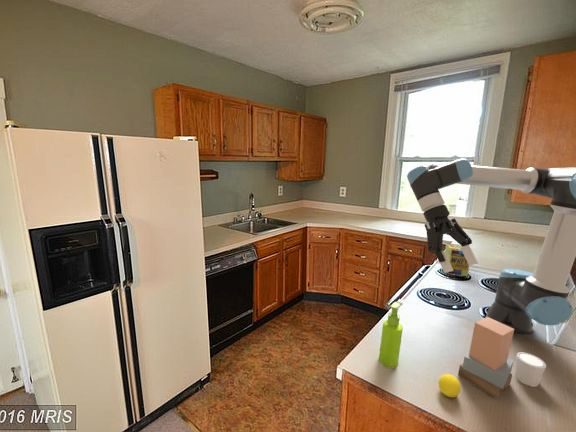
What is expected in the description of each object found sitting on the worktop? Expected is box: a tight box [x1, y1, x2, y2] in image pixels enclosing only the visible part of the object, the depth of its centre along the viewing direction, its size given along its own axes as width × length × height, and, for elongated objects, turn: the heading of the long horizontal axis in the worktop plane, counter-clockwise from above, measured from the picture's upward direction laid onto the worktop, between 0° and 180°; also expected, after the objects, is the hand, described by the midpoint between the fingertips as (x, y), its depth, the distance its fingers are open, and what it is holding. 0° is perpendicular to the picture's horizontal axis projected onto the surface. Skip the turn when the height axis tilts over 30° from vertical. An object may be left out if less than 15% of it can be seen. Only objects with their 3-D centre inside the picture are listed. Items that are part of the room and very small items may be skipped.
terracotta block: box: [469, 316, 514, 370], centre depth 81 cm, size 7×7×11 cm
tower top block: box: [462, 349, 514, 389], centre depth 83 cm, size 10×10×4 cm
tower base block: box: [457, 362, 513, 399], centre depth 84 cm, size 10×10×4 cm
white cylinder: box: [514, 351, 547, 388], centre depth 84 cm, size 7×7×7 cm
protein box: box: [444, 242, 470, 278], centre depth 168 cm, size 10×15×16 cm
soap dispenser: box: [378, 301, 404, 369], centre depth 89 cm, size 6×7×20 cm
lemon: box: [438, 373, 462, 398], centre depth 78 cm, size 7×5×5 cm
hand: (461, 268), depth 89 cm, fingers open, 13 cm apart
